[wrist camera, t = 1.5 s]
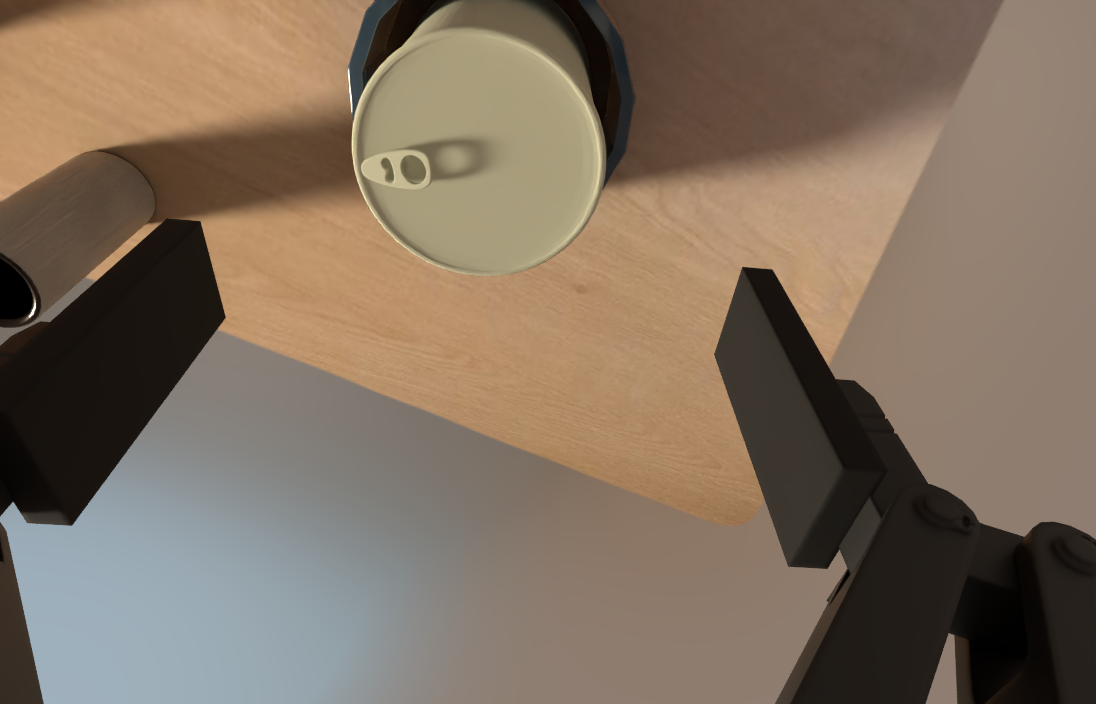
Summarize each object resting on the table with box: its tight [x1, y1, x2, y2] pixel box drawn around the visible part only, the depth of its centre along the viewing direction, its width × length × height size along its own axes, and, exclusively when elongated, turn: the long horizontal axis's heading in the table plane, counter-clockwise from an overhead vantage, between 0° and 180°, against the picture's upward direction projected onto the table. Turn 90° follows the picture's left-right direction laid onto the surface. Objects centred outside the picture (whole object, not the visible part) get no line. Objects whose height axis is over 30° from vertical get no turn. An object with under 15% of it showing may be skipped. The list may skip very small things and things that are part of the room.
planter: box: [0, 151, 155, 328], centre depth 31 cm, size 4×4×10 cm
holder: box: [348, 0, 635, 191], centre depth 30 cm, size 12×12×5 cm
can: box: [352, 0, 606, 276], centre depth 27 cm, size 9×9×12 cm
